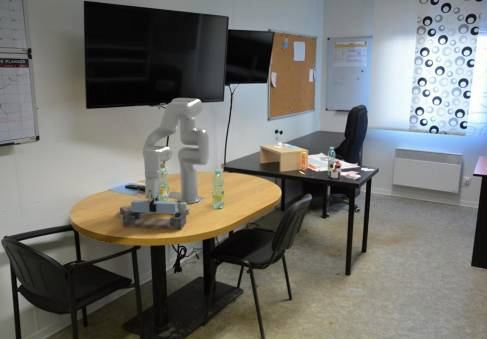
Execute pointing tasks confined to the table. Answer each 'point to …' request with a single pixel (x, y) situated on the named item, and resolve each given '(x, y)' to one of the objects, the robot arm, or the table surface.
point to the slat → (161, 206)
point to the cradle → (154, 221)
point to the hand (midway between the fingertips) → (154, 209)
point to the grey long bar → (182, 207)
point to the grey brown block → (125, 209)
